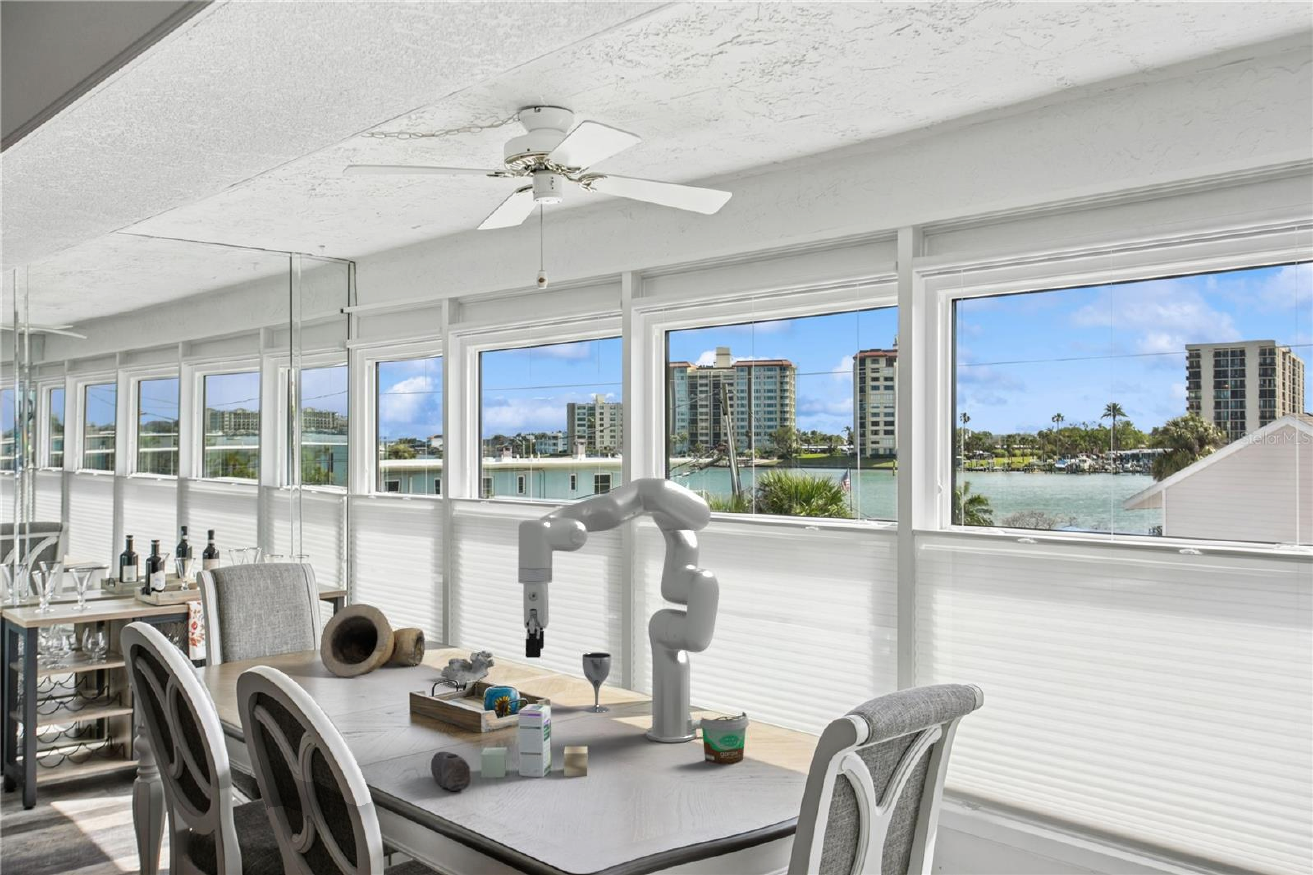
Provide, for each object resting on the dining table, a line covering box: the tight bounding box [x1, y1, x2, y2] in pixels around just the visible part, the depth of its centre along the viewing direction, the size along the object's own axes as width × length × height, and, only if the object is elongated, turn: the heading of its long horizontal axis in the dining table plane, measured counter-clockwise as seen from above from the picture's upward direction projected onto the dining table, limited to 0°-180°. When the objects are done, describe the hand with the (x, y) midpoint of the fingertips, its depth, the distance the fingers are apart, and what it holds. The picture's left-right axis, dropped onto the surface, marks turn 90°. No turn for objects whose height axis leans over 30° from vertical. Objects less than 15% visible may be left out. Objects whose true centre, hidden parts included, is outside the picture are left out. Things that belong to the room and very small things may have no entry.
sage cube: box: [480, 747, 508, 778], centre depth 213 cm, size 5×5×5 cm
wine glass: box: [582, 651, 612, 714], centre depth 268 cm, size 8×8×15 cm
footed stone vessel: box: [319, 603, 426, 678], centre depth 322 cm, size 23×29×30 cm
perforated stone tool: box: [430, 751, 472, 792], centre depth 205 cm, size 15×5×7 cm, turn 33°
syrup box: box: [518, 703, 552, 778], centre depth 213 cm, size 6×6×14 cm
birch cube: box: [563, 746, 588, 777], centre depth 214 cm, size 5×5×5 cm
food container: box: [699, 711, 750, 765], centre depth 222 cm, size 12×6×10 cm, turn 117°
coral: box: [440, 650, 495, 687], centre depth 301 cm, size 17×14×10 cm
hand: (534, 652), depth 214 cm, fingers open, 9 cm apart
